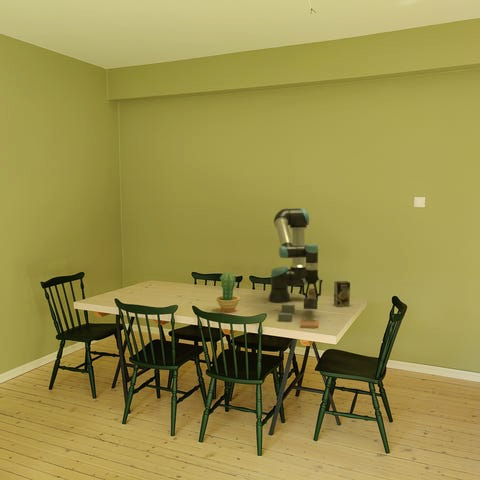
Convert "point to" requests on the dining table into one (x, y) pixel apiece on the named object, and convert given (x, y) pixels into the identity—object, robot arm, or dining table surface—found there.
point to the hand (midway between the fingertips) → (311, 306)
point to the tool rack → (286, 313)
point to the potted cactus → (228, 293)
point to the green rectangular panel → (309, 324)
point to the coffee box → (341, 293)
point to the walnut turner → (310, 300)
